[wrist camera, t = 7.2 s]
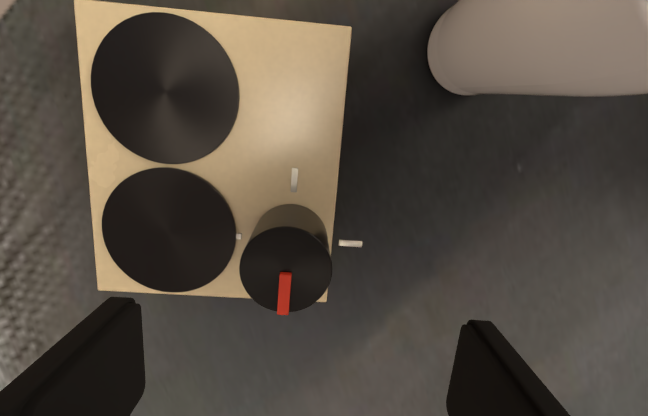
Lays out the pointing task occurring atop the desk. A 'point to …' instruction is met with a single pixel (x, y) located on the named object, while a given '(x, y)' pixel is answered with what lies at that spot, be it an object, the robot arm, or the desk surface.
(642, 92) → the drinking glass
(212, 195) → the burner
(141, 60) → the burner
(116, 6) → the hot plate
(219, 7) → the desk surface
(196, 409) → the desk surface
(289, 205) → the hob knob
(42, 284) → the desk surface
